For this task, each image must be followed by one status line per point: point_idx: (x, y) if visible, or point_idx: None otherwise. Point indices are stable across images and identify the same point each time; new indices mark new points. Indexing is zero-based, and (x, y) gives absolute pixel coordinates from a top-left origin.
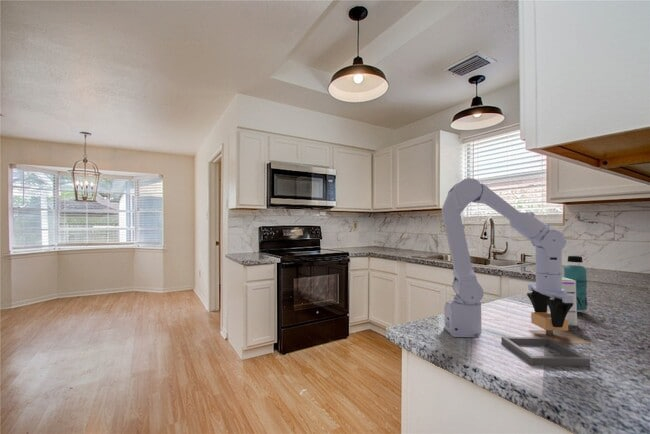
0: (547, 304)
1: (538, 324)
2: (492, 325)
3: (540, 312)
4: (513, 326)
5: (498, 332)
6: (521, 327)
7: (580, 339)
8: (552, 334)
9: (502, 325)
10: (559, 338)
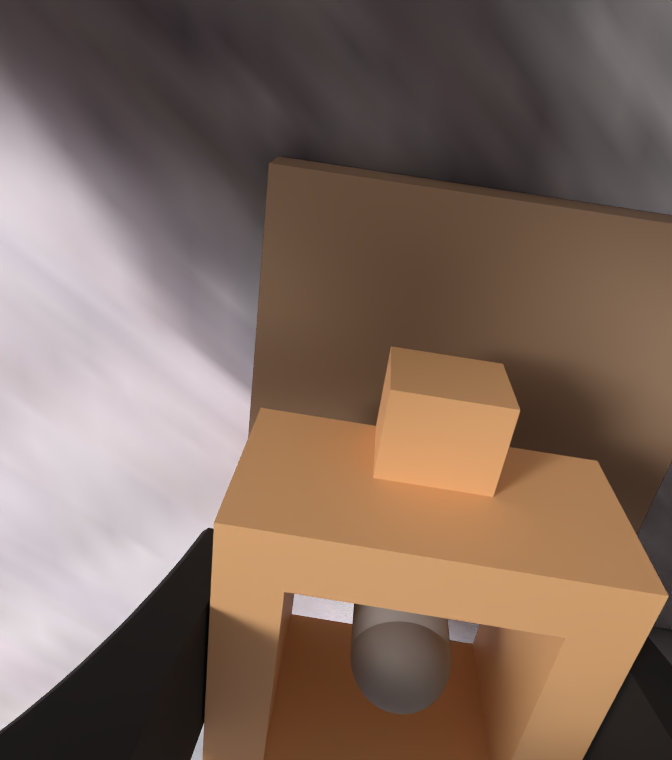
0: (138, 747)
1: None
2: (27, 666)
3: (218, 696)
4: (27, 526)
5: None
6: (48, 475)
7: (614, 249)
8: None
9: (12, 596)
10: None
